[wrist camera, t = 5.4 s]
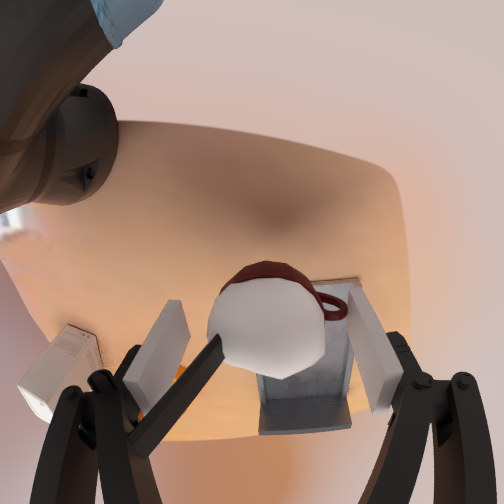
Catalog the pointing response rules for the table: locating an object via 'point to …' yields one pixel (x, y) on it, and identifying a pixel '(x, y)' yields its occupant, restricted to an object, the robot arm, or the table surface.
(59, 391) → the skincare box
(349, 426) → the grey dustpan
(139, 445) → the cocoa
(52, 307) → the table surface
